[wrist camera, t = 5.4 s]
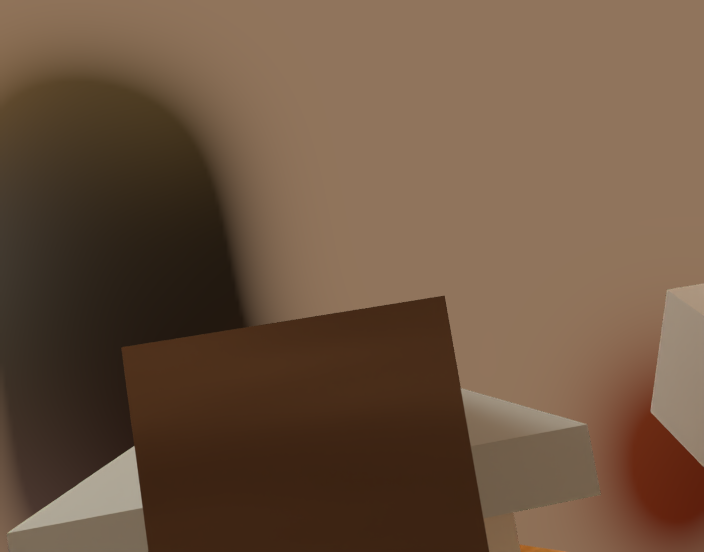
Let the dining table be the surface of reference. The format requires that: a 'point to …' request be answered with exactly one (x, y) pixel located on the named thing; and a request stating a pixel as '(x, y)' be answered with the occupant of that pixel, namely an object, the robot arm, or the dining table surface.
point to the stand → (488, 456)
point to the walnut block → (307, 436)
